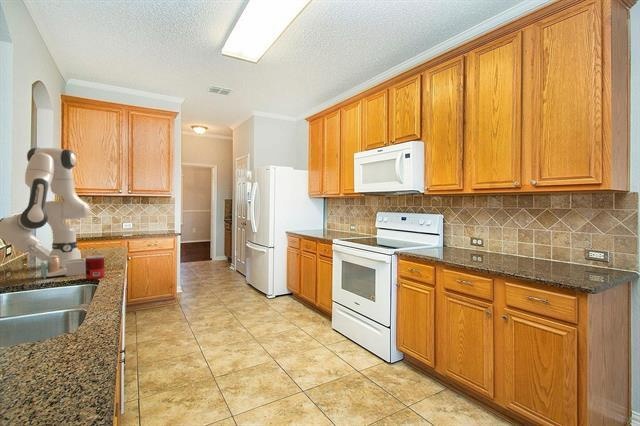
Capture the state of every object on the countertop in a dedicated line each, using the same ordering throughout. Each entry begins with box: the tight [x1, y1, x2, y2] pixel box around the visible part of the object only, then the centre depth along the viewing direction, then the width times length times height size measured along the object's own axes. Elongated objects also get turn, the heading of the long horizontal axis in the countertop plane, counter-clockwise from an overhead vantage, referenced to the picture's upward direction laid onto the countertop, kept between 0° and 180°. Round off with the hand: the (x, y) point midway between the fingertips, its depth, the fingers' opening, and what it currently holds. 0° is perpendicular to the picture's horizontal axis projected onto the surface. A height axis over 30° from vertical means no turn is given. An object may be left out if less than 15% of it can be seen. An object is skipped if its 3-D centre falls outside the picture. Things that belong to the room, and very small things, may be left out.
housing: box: [61, 257, 86, 277], centre depth 177 cm, size 11×10×7 cm
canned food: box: [85, 254, 105, 280], centre depth 168 cm, size 8×8×11 cm
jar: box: [46, 255, 61, 273], centre depth 170 cm, size 5×5×9 cm
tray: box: [40, 261, 66, 280], centre depth 171 cm, size 9×10×7 cm
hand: (55, 261), depth 171 cm, fingers open, 8 cm apart
